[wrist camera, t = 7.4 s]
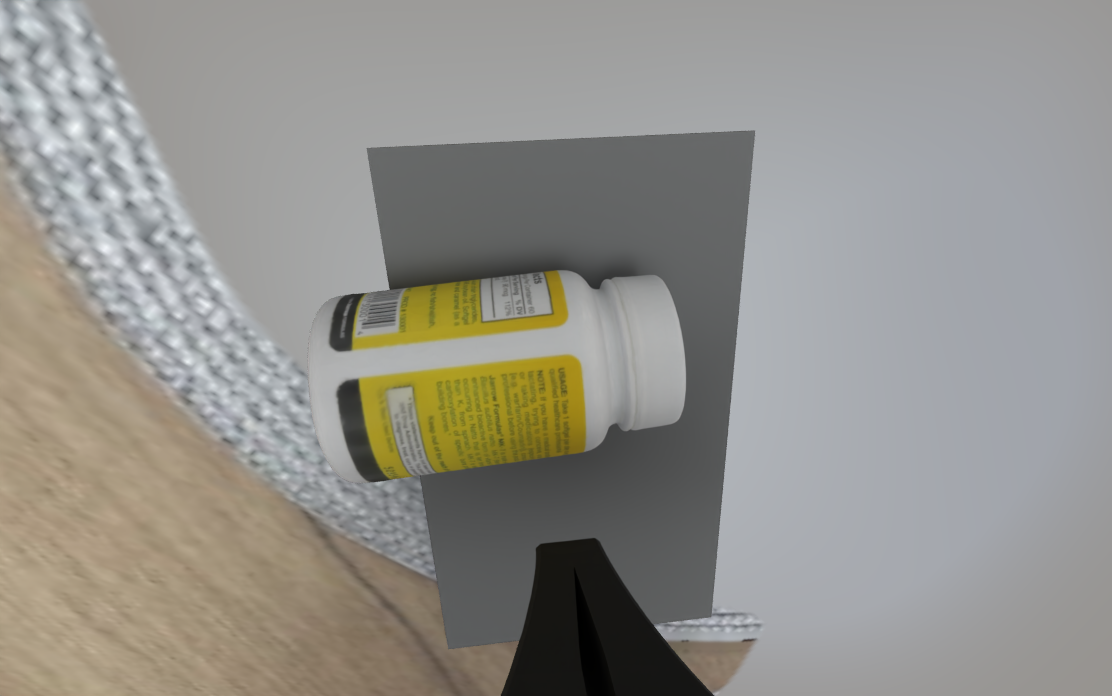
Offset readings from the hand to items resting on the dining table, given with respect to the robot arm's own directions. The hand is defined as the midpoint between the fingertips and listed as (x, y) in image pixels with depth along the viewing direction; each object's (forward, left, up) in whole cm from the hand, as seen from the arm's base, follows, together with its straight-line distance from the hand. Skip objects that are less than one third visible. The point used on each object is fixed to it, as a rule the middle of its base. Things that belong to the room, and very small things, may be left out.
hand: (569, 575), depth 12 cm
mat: (0, -1, -6) cm, 6 cm away
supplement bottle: (+3, +6, -4) cm, 7 cm away
